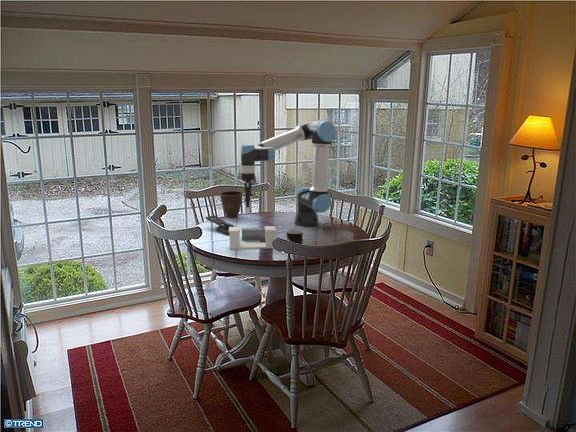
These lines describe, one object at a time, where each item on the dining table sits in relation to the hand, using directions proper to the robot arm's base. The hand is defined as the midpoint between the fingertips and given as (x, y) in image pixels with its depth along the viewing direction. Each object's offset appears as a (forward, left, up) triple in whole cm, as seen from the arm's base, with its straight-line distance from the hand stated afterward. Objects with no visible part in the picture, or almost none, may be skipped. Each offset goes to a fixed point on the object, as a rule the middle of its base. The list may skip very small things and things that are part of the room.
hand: (248, 210), depth 276 cm
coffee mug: (-24, +25, -16) cm, 39 cm away
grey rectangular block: (-2, +2, -16) cm, 17 cm away
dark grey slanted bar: (+16, -18, -17) cm, 29 cm away
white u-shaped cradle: (-2, +16, -16) cm, 23 cm away
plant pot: (+12, -51, -16) cm, 54 cm away
